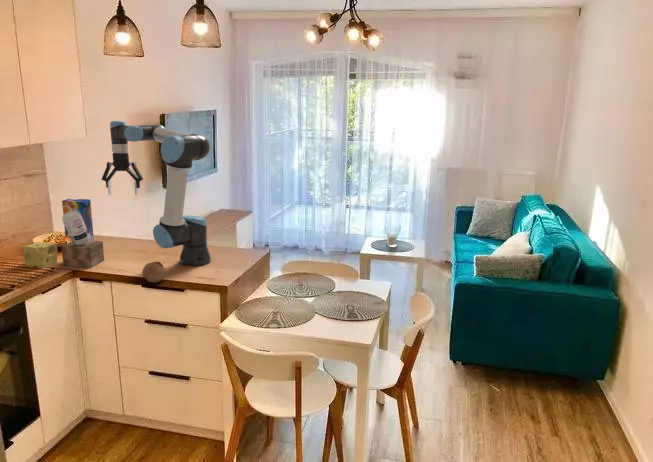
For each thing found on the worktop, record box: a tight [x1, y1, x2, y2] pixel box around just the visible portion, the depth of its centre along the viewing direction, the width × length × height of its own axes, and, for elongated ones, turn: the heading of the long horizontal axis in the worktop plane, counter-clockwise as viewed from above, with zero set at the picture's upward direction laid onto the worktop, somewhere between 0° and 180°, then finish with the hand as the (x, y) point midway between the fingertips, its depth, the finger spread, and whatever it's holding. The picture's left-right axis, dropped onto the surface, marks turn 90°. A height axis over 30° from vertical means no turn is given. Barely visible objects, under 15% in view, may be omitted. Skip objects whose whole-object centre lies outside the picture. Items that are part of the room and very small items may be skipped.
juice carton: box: [61, 197, 95, 241], centre depth 284 cm, size 12×8×24 cm, turn 81°
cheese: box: [22, 241, 58, 269], centre depth 247 cm, size 10×11×10 cm
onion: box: [142, 261, 166, 284], centre depth 229 cm, size 10×9×10 cm
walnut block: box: [61, 240, 105, 269], centre depth 250 cm, size 14×12×10 cm
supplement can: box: [62, 211, 90, 245], centre depth 245 cm, size 8×8×15 cm
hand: (123, 194), depth 264 cm, fingers open, 13 cm apart
